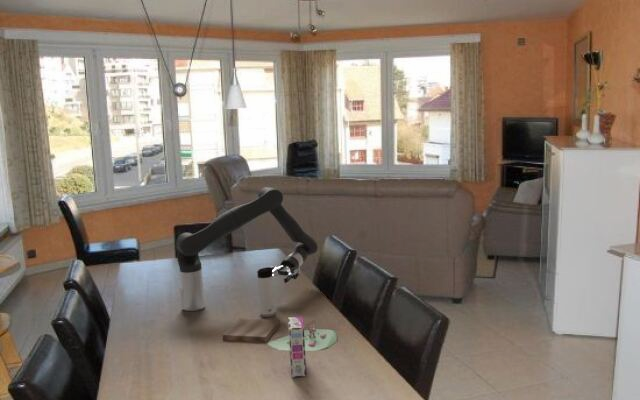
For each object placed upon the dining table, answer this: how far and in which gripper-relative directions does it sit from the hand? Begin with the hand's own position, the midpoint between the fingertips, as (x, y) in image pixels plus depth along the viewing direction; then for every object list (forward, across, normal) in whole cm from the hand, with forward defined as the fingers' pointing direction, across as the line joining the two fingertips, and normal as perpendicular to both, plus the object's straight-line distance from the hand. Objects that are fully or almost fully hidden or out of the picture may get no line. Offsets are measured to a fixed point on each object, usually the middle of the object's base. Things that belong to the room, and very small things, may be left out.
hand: (276, 279), depth 252 cm
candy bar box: (+54, +35, 0) cm, 65 cm away
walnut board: (+31, +4, +6) cm, 32 cm away
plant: (+33, +27, +5) cm, 43 cm away
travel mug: (+12, +1, +10) cm, 16 cm away
